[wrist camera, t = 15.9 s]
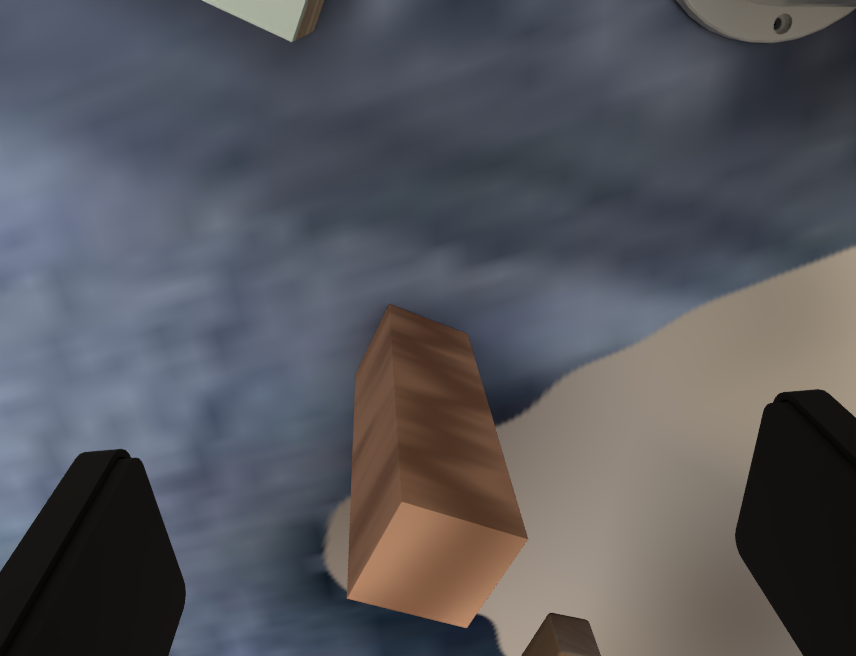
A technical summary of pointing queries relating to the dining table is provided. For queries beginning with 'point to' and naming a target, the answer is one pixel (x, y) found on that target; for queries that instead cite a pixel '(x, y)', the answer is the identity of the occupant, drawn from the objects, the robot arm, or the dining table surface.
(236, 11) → the lid
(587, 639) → the wooden block
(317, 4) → the toolbox
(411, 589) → the key post
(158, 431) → the dining table surface
